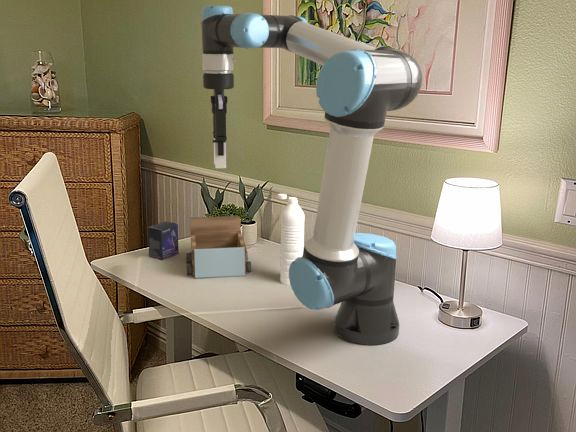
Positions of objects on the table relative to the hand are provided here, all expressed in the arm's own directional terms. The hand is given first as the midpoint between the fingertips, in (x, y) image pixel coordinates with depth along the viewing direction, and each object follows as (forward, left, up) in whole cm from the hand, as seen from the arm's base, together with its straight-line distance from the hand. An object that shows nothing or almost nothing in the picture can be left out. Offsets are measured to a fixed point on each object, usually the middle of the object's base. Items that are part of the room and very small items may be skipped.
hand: (220, 165), depth 158 cm
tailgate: (+9, 0, -34) cm, 35 cm away
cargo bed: (+20, 0, -35) cm, 40 cm away
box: (+30, +16, -35) cm, 49 cm away
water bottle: (+4, -19, -35) cm, 40 cm away
